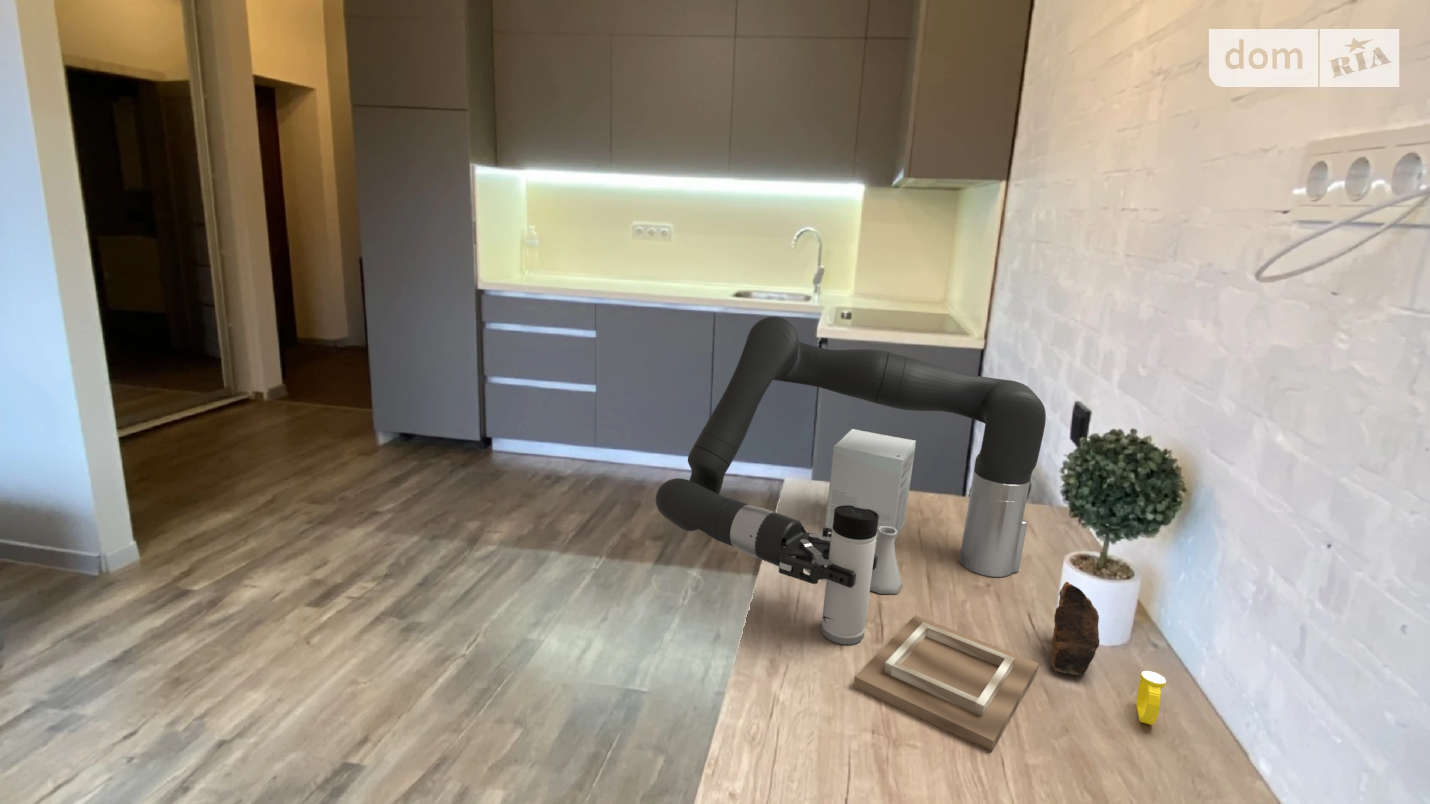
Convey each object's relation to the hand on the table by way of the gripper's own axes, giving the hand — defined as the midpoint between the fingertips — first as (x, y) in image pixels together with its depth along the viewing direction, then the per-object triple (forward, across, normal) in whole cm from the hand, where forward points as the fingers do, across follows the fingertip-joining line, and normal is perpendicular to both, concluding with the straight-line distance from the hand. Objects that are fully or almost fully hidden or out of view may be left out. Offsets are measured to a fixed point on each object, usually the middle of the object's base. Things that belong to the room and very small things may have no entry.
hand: (865, 571), depth 105 cm
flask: (-4, +18, +11) cm, 21 cm away
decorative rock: (+25, +17, +11) cm, 32 cm away
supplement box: (-16, +37, +11) cm, 42 cm away
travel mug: (-2, 0, +11) cm, 11 cm away
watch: (+36, +10, +11) cm, 39 cm away
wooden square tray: (+14, 0, +11) cm, 18 cm away
